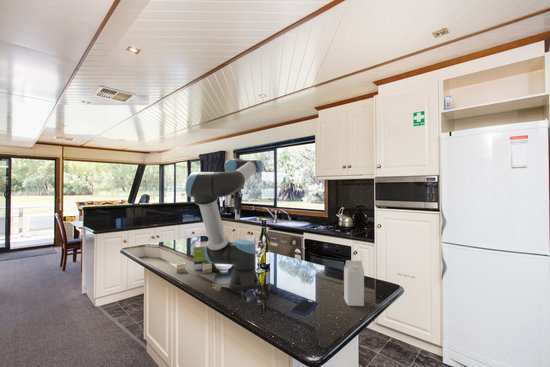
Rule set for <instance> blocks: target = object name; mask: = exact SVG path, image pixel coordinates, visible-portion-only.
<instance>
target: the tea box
mask: <svg viewBox="0 0 550 367" xmlns="http://www.w3.org/2000/svg"><path fill="white" fill-rule="evenodd" d="M207 242H208V240H207V241H198V242H197V241H194V242H193V270H194V271H196V270H197V271H199V270H200V271H201V270H202V263H204V262H208V261H207V260H206V258H205V246H206V244H207Z"/></svg>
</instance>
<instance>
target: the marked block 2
mask: <svg viewBox="0 0 550 367" xmlns="http://www.w3.org/2000/svg"><path fill="white" fill-rule="evenodd" d="M212 268H213V263H209V262H204V263H202V269H201V270H202V273H203V274H206V273H212V271H213V269H212Z"/></svg>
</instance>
